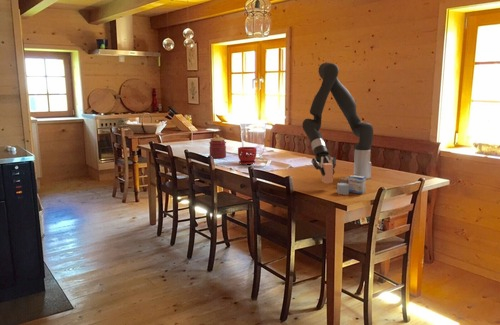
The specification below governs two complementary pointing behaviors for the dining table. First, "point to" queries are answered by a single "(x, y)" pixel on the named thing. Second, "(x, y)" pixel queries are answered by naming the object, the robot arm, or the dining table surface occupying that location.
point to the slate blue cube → (343, 188)
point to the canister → (217, 147)
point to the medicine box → (357, 184)
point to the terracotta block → (327, 173)
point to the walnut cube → (344, 180)
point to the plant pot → (247, 155)
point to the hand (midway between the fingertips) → (328, 174)
